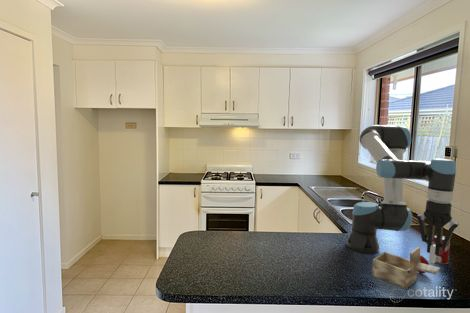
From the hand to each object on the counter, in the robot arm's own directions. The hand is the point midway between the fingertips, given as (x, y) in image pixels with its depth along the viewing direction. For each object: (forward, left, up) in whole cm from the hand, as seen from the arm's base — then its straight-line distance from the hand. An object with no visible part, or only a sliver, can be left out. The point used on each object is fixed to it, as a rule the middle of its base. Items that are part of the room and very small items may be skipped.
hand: (432, 261), depth 105 cm
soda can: (-4, +33, -12) cm, 35 cm away
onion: (-6, +13, -12) cm, 18 cm away
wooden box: (-12, 0, -11) cm, 17 cm away
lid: (-6, 0, -1) cm, 6 cm away
